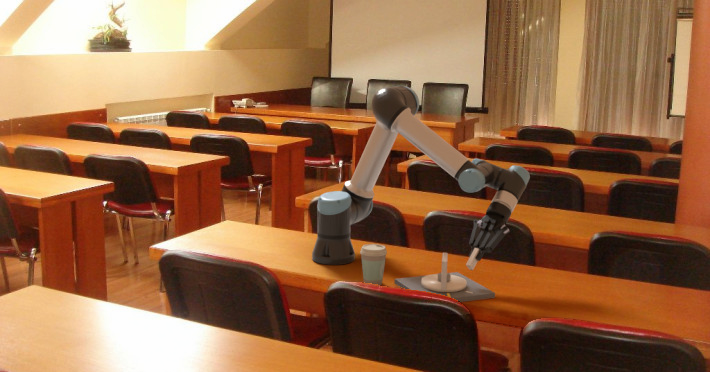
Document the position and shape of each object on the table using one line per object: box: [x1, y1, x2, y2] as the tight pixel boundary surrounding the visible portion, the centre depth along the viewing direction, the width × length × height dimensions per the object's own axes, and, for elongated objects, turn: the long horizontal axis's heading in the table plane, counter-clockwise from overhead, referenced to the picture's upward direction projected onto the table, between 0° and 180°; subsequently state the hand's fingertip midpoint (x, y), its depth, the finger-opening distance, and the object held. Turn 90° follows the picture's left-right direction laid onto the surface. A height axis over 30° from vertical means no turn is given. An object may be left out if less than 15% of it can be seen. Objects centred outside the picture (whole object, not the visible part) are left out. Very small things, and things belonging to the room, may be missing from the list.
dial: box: [421, 252, 467, 292], centre depth 244 cm, size 17×14×10 cm
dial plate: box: [394, 271, 496, 303], centre depth 247 cm, size 23×23×2 cm
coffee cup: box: [359, 243, 388, 286], centre depth 252 cm, size 8×8×12 cm
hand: (469, 267), depth 247 cm, fingers closed
